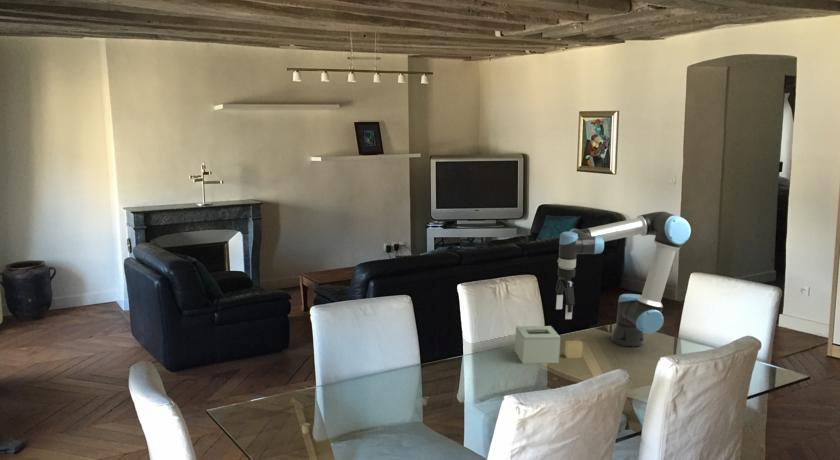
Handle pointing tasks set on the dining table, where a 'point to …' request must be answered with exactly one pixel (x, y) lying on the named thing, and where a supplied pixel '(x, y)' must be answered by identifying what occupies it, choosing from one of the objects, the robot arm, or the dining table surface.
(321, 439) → the dining table surface
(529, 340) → the box
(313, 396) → the dining table surface
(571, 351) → the tan wooden block
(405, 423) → the dining table surface
